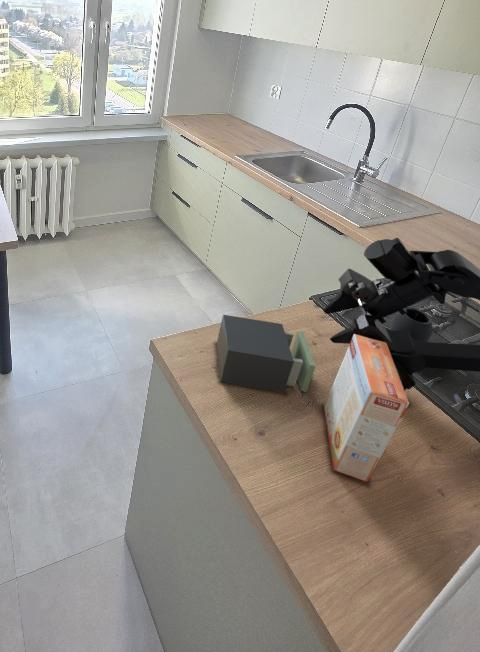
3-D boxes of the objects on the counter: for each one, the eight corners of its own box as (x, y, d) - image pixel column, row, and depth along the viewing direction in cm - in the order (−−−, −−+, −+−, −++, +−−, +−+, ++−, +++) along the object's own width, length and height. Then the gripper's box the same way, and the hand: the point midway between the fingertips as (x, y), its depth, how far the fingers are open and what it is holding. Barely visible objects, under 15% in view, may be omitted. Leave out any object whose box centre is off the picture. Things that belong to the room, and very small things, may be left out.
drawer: (300, 357, 99) (308, 332, 96) (312, 392, 90) (322, 367, 87) (241, 347, 101) (247, 322, 98) (247, 381, 92) (254, 355, 89)
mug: (420, 372, 98) (438, 335, 93) (375, 350, 103) (391, 314, 98) (427, 344, 106) (444, 309, 101) (385, 325, 111) (400, 291, 107)
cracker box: (369, 484, 74) (411, 404, 66) (332, 471, 76) (368, 391, 67) (354, 416, 86) (388, 341, 78) (322, 406, 88) (352, 331, 79)
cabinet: (273, 353, 101) (282, 323, 97) (283, 392, 91) (294, 361, 87) (216, 343, 102) (223, 314, 99) (220, 381, 93) (228, 350, 89)
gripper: (360, 241, 91) (298, 275, 99) (385, 293, 75) (308, 329, 82) (394, 276, 92) (329, 308, 99) (426, 336, 75) (345, 368, 83)
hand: (327, 325), depth 91 cm, fingers open, 9 cm apart
